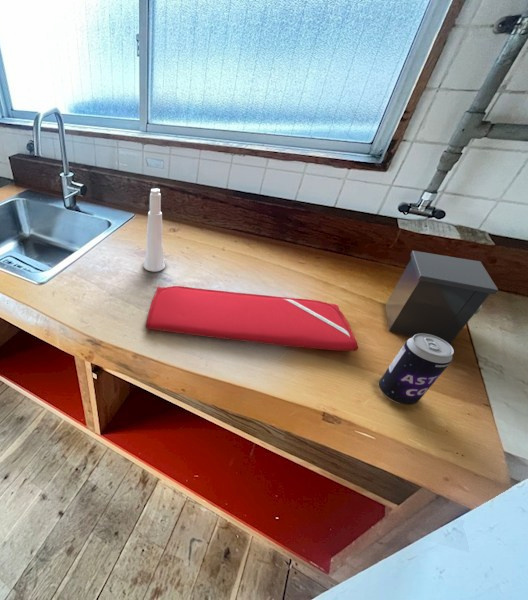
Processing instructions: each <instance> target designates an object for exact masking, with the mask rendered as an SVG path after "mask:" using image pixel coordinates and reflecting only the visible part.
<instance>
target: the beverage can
mask: <svg viewBox="0 0 528 600" xmlns="http://www.w3.org/2000/svg"><path fill="white" fill-rule="evenodd" d="M454 353H455V350H454V347H453V346H452V345H451V344H449V343H447V342H446V341H444V340H443V339H441V338H439V337H436V336H433V335H430V334H423V333H421V334H416V335H414V336H413V337H412V336H411V337H410V338H407V340H406V341H405V342H404V343H403V345H402V347H401V348H400V350H399V351H398V352H397V354H396V355H395V357H394V358H393V360H392V362H391V363H390V364H389V366H388V367H387V368H386V370H385V371H384V373H383V374H382V376H381V378H380V379H379V380H378V387H379V390H380V391H381V392H382V394H383V395H384V396H385V397H386V399H388V400H390V401H392V402H393V403H396V404H399V405H409V406H411V405H416V404H418V403H419V401H420V400H421V399H422V398H423V396H424V395H425V394H426V393H427V392H428V391H429V390H430V388H431V387H432V386H433V384H434V383H435V382H436V381H437V380H438V379H439V377H440V376H441V375H442V374H443V373H444V372H445V370H446V369H447V368H448V367H449V366H450V364H451V363H452V362H453V359H454V357H453V355H454Z"/></svg>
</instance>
